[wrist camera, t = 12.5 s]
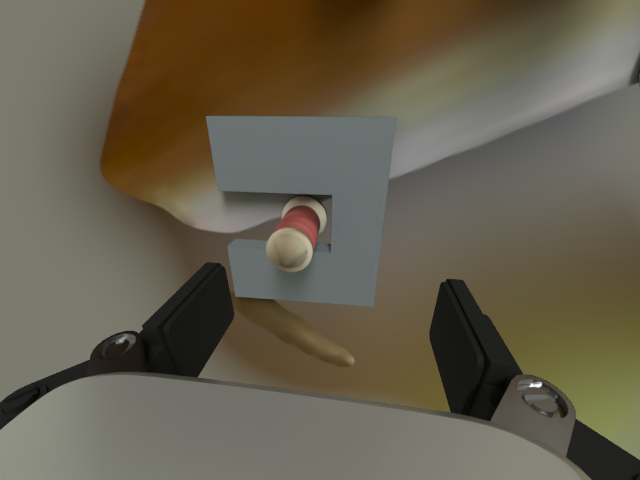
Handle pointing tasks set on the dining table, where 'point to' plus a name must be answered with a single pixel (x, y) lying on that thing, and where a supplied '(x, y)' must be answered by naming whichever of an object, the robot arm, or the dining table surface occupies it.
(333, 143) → the notched board
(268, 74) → the dining table surface
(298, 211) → the bobbin
